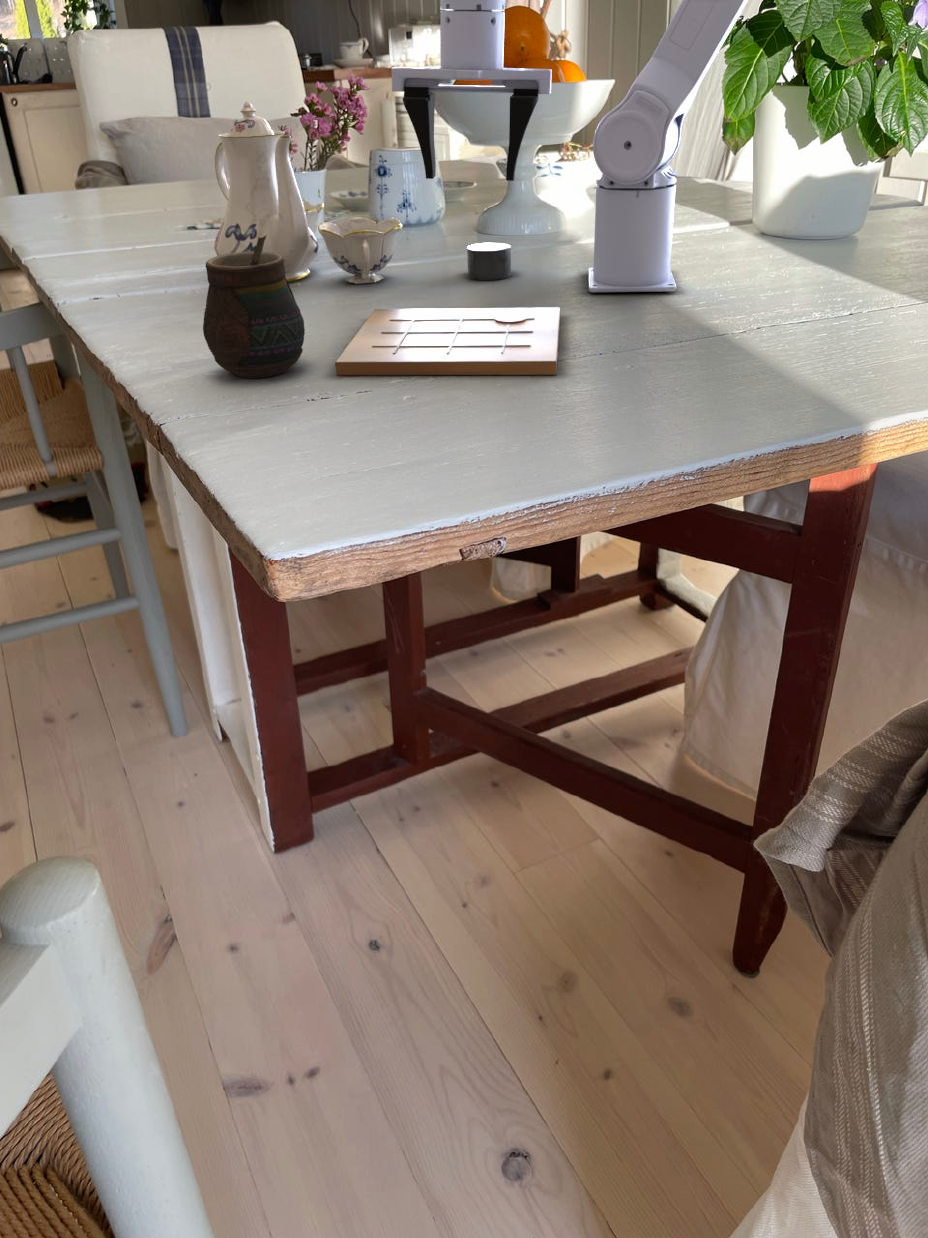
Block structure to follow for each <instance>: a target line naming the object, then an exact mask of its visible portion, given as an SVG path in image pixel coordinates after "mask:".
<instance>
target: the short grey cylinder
mask: <svg viewBox="0 0 928 1238" xmlns="http://www.w3.org/2000/svg"><path fill="white" fill-rule="evenodd" d="M466 256H467V257H466V258H467V277H468V278H469V279H472V280H476V281H497V280H504V279H507V278H511V276H512V246H511V245H510V244H508V243H503V242H482V243H474V244H471V245H468V246H467V248H466Z"/></svg>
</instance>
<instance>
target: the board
mask: <svg viewBox="0 0 928 1238" xmlns="http://www.w3.org/2000/svg"><path fill="white" fill-rule="evenodd" d="M560 328H561V307H560V306H554V307H553V306H552V307H551V306H547V307H545V306H543V307H541V306H540V307H539V306H537V307H453V308H452V307H451V308H448V307H447V308H445V307H444V308H436V307H435V308H375V309H374V310H373V311H372V312H371V314H370V315H369V317H367V319H366V320H365V322H364V323H363V324H362V326H361V327H360V328H359V330H358V331H357V333H356V334H355V335H354V336H353V338H352V339H351V340H350V342H349V343H348V345H346V347H345V348H344V349H343V351H342V352H341V354H340V355H339V356H338V358H337V359H336V361H335V362H334V364H335V375H336V376H555V375H557V369H558V358H559V357H558V355H559V343H560V330H561V329H560Z"/></svg>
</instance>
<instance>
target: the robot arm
mask: <svg viewBox="0 0 928 1238" xmlns="http://www.w3.org/2000/svg"><path fill="white" fill-rule="evenodd" d="M748 1H749V0H681V2H680V3H679V6H678V7H677V9H676V11H675V13H674V15H673V16H672V19H671V21H670V22H669V24H668V25H667V27H666V29H665V31H664V33H663V35H662V37H661V39H660V41H659V43H658V44H657V46H656V49H655V50H654V52H653V54H652V56H651V58H650V59H649V61H648V62H647V63H646V64H645V66H644V67H643V69H642V70H641V72H640V73H639V74H638V76H637V77H636V78H635V80H634V82H633V83H632V85H631V86H630V88H629V90H628V92H627V94H626V95H625V97H624V98H623V99H622V100H621V102H620V103H619V104H618V105H616V106H615V107H613V108H612V109H611V110H610V111H608V112H607V113H606V114H605V115H604V116H603V117H602V118H601V120H600V121H599V123H598V125H597V126H596V129H595V131H594V134H593V141H592V152H593V158H594V161H595V164H596V165H597V168H598V169H599V170H600V172H601V173H602V175H601V176H598V177H597V178H596V182H595V183H596V186H595V210H594V211H595V212H594V237H593V238H594V239H593V240H594V241H593V242H594V243H593V266H592V267H588V269H587V270H588V272H587V273H588V274H587V275H588V291H589V292H590V293H655V292H656V293H661V292H676V291H677V284H676V281H675V279H674V276H673V273H672V270H671V260H672V245H673V232H674V219H675V217H674V216H675V206H676V205H675V203H676V190H677V184H676V183H677V177H678V176H677V174H676V173H675V172H674V170H673V169H672V167H671V165H669V164H668V163H670V161H671V160H672V159H674V156H675V155H676V153H677V152H678V149H679V146H680V143H681V136H682V127H683V122H684V119H685V117H686V115H687V113H688V112H689V110H690V108H691V106H692V104H693V103H694V99H695V97H696V95H697V92H698V90H699V88H700V85H701V83H702V82H703V79H704V78H705V76H706V74H707V73H708V70H710V68H711V65H712V64H713V62H714V61H715V59H716V57H717V55H718V54H719V52H720V50H721V48H722V46H723V45H724V43H725V41H726V39H727V38H728V36H729V34H730V33H731V31H732V29H733V27H734V26H735V24H736V22H737V20H738V19H739V17H740V15H741V13H742V11H743V9H744V8H745V6H746V4H747V3H748ZM439 3H440V4H439V6H440V7H439V9H440V11H439V12H440V13H439V14H440V15H439V18H440V21H439V23H440V24H439V25H440V28H439V29H440V30H439V31H440V39H439V40H440V42H439V43H440V48H439V49H440V51H439V52H440V66H394V67H391V92H395V93H396V92H397V93H398V92H399V93H400V92H403V97H402V103H403V106H404V108H405V111H406V113H407V115H408V117H409V120H410V122H411V124H412V127H413V130H414V133H415V136H416V139H417V142H418V145H419V148H420V152H421V156H422V160H423V166H424V174H425V180H426V179H427V180H430V179H432V180H433V179H435V177H436V173H437V172H436V170H437V169H436V167H437V163H436V148H435V113H436V111H435V110H436V109H435V108H436V93H437V92H438V93H439V92H440V93H443V92H444V93H446V92H447V93H449V92H450V93H491V94H492V93H495V94H496V93H497V94H498V93H499V94H511V95H510V96H509V126H508V127H509V129H508V130H509V132H508V135H509V136H508V150H507V161H506V167H505V168H506V169H505V171H506V172H505V173H506V175H505V180H506V181H507V182H510V181H512V182H513V181H514V180H515V179H516V178H515V176H516V168H517V162H518V158H519V154H520V149H521V147H522V142H523V139H524V136H525V133H526V130H527V128H528V125H529V123H530V120H531V117H532V116H533V113H534V111H535V108H536V106H537V104H538V101H539V95H550V94H551V93H552V91H551V90H552V72H553V71H552V70H553V69H550V68H516V67H504V49H505V48H504V47H505V44H504V43H505V16H506V15H505V8H506V7H505V5H506V4H505V3H506V0H439ZM453 81H491V85H455V84H454V85H453V84H452V83H453ZM450 84H452V85H450Z"/></svg>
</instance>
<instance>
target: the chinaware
mask: <svg viewBox="0 0 928 1238" xmlns="http://www.w3.org/2000/svg"><path fill="white" fill-rule="evenodd" d="M240 113H241V114H242V116H240V117H237V118H236V119H235V120H234V121H233V123H232V126H231V130H230V132H225V133H223V134H222V133H221V134H219V133H218V135H217V137H218V138H219V139H220V142H219V144H218V145H217V146H216V149H215V153H214V168H215V175H216V180H217V183H218V186H219V189H220V191H221V193H222V195H223V197H224V198H225V200H226V201H227V203H226V204H227V206H226V209H225V214H224V217H223V220H222V222H221V225H220V226H219V229H218V231H217V234H216V237H215V240H214V245H213V249H214V252H215V254H216V256H220V255H225V254H231V253H239V252H254V249H255V246H256V245H257V241H258V237H260V238H262V237H264V236H266V235H267V236H266V239H265V241H264V245H263V251H262V252H272V253H277V254H279V255H282V256H283V257H284V260H285V261H284V265H285V270H286V275H285V277H286V280H287V282H288V283H291V282H295V281H299V280H302V279H304V278H307V277H308V276H310V274H311V271H310V269H309V266H310V265H311V263H312V262H313V260H314V259H315V257H316V255H317V253H318V252H319V243H318V240H317V238H316V237H315V235H316V232H317V229H318V232H319V234H320V236H321V237H322V238H323V241H324V243H325V246H326V249H327V252H328V254H329V256H330V258H331V259H332V261H333V263H335V264H336V265H337V267H339V268H340V269H341V270H343V271H344V272H346V273H348V274H350V275H352V276H350V277H348V278H346V280H345V282H349V283H353V284H356V285H357V284H358V285H359V284H370V283H376V282H379V281H381V280H383V279H384V277H383V276H381V275H379V274H377V273H378V272H380V271H381V270H383V269H384V268H386V266H387V265H388V264H389V263H390V262H391V260H392V258H393V256H394V254H395V251H396V247H397V242H398V241H397V240H398V237H399V233H400V232H401V231H402V229H403V227H404V226H403V224H402V223H401V221H400V220H399V219H397V218H396V217H391V218H390V217H389V218H385V219H383V220H379V221H378V222H376V221H374V220H372V219H370V218H367V217H359V216H355V217H351V218H346V219H345V220H343V221H342V222H340V223H338V224H335V223H332V222H329V221H326V222H320V223H319V216H320V213H321V211H322V210H324V209H325V204H324V202H319V203H317V204H315V205H313V204H312V203H311V202H309V201H306V200H303V199H302V196H301V194H300V190H299V187H298V183H297V180H296V176H295V174H294V169H293V167H292V163H291V158H290V151H289V149H290V143H291V138H292V136H291V135H287V134H286V135H284V134H285V131H282V130H272V129H271V126H270V124H269V123H268V122H267V120H266V119H265V118H264V117H262V116H258V115H256V113H257V109H256V108H254V107H253V104H252V103H251V102H250V101H248V100H247V101H245V102H244V103H243V107H242V109H241V110H240ZM225 157H226V162H227V163H226V164H227V171H228V179H229V180H228V181H229V183H228V181H227V177H226V172H225V166H224V159H225ZM318 223H319V224H318Z"/></svg>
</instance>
